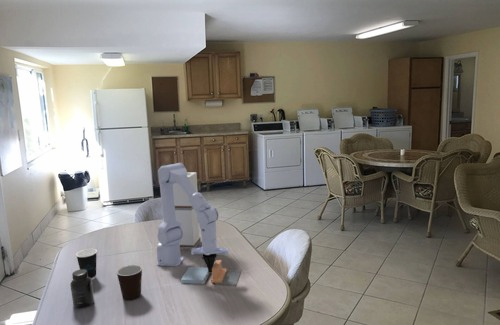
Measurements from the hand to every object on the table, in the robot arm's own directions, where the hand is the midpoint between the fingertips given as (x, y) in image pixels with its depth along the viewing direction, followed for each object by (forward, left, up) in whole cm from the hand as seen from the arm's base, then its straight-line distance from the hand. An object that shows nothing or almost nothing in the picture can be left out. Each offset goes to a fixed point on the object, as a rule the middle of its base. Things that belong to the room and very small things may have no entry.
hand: (210, 271), depth 151 cm
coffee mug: (-26, -15, -3) cm, 30 cm away
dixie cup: (-50, -4, -3) cm, 50 cm away
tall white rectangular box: (-21, +33, -3) cm, 39 cm away
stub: (+3, 0, -2) cm, 4 cm away
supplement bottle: (-41, -23, -3) cm, 47 cm away
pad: (+7, 0, -2) cm, 7 cm away
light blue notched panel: (-6, 0, -2) cm, 6 cm away
